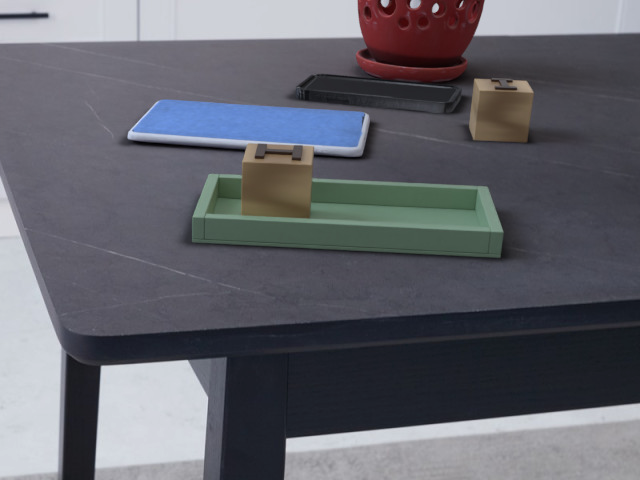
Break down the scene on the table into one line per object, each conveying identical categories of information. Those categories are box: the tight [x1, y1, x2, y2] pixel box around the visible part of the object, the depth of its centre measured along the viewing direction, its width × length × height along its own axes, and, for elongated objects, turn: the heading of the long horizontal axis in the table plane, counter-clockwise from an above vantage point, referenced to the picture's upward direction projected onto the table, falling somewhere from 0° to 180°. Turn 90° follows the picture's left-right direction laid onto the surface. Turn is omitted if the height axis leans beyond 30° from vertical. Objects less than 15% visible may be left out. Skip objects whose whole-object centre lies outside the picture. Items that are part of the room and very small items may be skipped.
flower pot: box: [355, 0, 486, 84], centre depth 119 cm, size 13×13×12 cm
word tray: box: [191, 173, 505, 259], centre depth 77 cm, size 20×10×2 cm, turn 85°
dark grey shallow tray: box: [295, 73, 463, 114], centre depth 111 cm, size 8×1×15 cm
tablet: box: [127, 98, 371, 158], centre depth 98 cm, size 19×13×1 cm, turn 81°
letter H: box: [241, 143, 315, 219], centre depth 77 cm, size 4×4×5 cm
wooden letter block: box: [468, 77, 535, 143], centre depth 99 cm, size 4×4×5 cm
